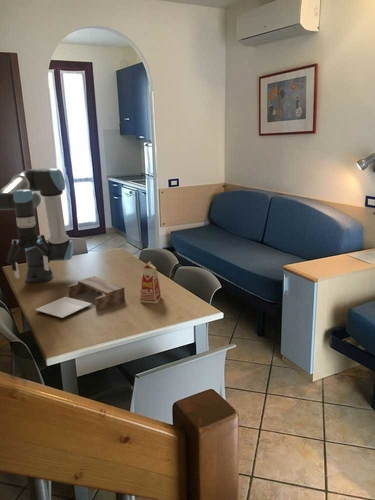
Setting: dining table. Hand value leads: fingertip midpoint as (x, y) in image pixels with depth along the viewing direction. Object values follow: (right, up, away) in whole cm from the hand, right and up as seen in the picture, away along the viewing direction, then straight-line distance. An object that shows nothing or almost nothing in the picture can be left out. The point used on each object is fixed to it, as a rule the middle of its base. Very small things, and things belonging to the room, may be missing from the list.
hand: (32, 273), depth 181 cm
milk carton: (+50, -15, +25) cm, 58 cm away
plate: (+10, -19, +15) cm, 26 cm away
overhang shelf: (+22, -14, +27) cm, 38 cm away
